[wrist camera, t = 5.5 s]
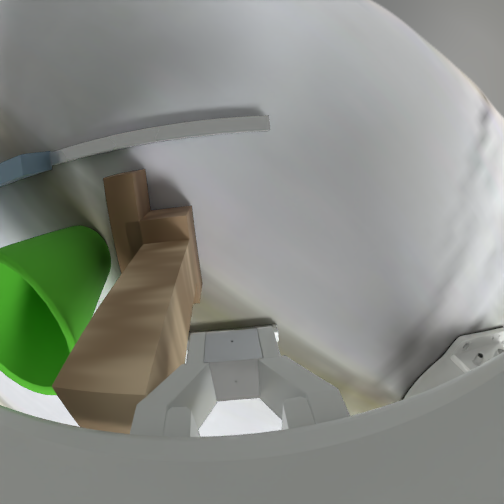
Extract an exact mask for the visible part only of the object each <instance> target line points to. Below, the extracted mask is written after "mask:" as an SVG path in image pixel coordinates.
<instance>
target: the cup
mask: <svg viewBox="0 0 504 504" xmlns="http://www.w3.org/2000/svg"><path fill="white" fill-rule="evenodd" d="M110 267H111V258H110V253H109V249H108V246H107V244H106V242H105V241H104V239H103V238H102V237H101V236H100V235H99V234H98V233H97V232H96V231H94V230H92V229H90V228H88V227H84V226H72V227H68V228H64V229H61V230H57V231H54V232H50V233H47V234H43V235H40V236H37V237H33V238H30V239H27V240H24V241H21V242H17V243H14V244H11V245H8V246H5V247H2V248H0V370H1V371H2V372H3V373H4V374H5V375H6V376H7V377H9V378H10V379H12V380H13V381H15V382H16V383H18V384H19V385H21V386H23V387H25V388H27V389H29V390H31V391H33V392H37V393H41V394H45V395H57V394H56V393H55V391H54V389H53V388H52V385H53V383H54V381H55V379H56V377H57V376H58V374H59V372H60V370H61V368H62V367H63V365H64V363H65V361H66V360H67V358H68V356H69V354H70V353H71V351H72V349H73V348H74V346H75V344H76V343H77V341H78V339H79V338H80V336H81V334H82V333H83V331H84V330H85V328H86V326H87V325H88V323H89V322H90V320H91V318H92V316H93V313H94V310H95V308H96V305H97V302H98V300H99V297H100V294H101V292H102V289H103V287H104V284H105V282H106V279H107V277H108V275H109V272H110Z"/></svg>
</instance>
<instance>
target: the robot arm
mask: <svg viewBox="0 0 504 504" xmlns="http://www.w3.org/2000/svg"><path fill="white" fill-rule="evenodd" d="M503 346H504V328H498V329H494V330H489V331H484V332H479V333H474V334H469V335H464V336H460V337H459V338H457V339H456V340H455V341H454V343H453V344H452V345H451V346H450V348H449V349H448V350H447V352H446V353H445V354H444V355H443V356H442V357H441V358H440V359H439V360H438V361H437V362H435V363H434V364H433V365H432V366H431V367H430V368H429V369H428V370H427V371H426V372H425V373H424V374H423V375H422V376H421V377H420V378H419V379H418V380H417V381H416V382H415V383H414V385H413V386H412V387H411V388H410V390H409V391H408V393H407V394H406V396H405V398H404V400H401V401H398V402H395V403H392V404H389V405H386V406H383V407H380V408H377V409H373V410H370V411H367V412H363V413H360V414H356V415H352V416H350V414H349V412H348V410H347V407H346V405H345V403H344V401H343V398H342V396H341V394H340V392H339V390H338V388H336V387H335V386H333V385H331V384H330V383H328V382H326V381H325V380H323V379H321V378H320V377H318V376H317V375H315V374H313V373H312V372H310V371H309V370H307V369H305V368H304V367H302V366H301V365H299V364H298V363H296V362H295V361H293V360H291V359H290V358H288V357H287V356H281V355H280V351H279V348H278V344H277V341H276V337H275V334H274V330H273V327H272V326H267V327H259V328H255V329H245V330H232V331H214V332H196V333H191V334H190V339H189V346H188V354H187V362H186V364H182V365H180V366H179V367H178V368H177V369H176V370H175V371H174V372H173V373H172V374H171V375H170V376H168V377H167V378H166V379H165V380H164V381H163V382H162V383H161V384H160V385H158V386H157V387H156V388H155V389H154V390H153V391H152V392H151V393H149V394H148V395H147V396H146V397H145V398H144V399H143V400H142V401H140V402H139V403H138V404H137V406H136V410H135V414H134V418H133V422H132V426H131V430H130V434H124V433H116V432H108V431H101V430H94V429H88V428H83V427H77V426H72V425H68V424H63V423H59V422H54V421H50V420H46V419H42V418H39V417H35V416H32V415H28V414H25V413H22V412H19V411H15V410H12V409H9V408H7V407H4V406H1V405H0V504H504V347H503ZM251 398H260V399H261V400H262V401H263V402H264V403H265V404H266V405H267V406H268V407H269V408H270V409H271V410H272V411H273V412H274V413H275V414H276V415H277V416H278V417H279V418H280V419H281V420H282V430H278V431H271V432H263V433H254V434H243V435H230V436H210V437H201V436H200V434H199V431H198V430H199V428H200V427H201V425H202V424H203V422H204V421H205V420H206V418H207V417H208V415H209V414H210V412H211V411H212V409H213V408H214V407H215V405H216V404H217V401H228V400H237V399H251Z"/></svg>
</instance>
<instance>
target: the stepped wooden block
mask: <svg viewBox="0 0 504 504" xmlns="http://www.w3.org/2000/svg"><path fill="white" fill-rule="evenodd" d="M103 182H104V189H105V196H106V202H107V208H108V214H109V219H110V224H111V230H112V235H113V239H114V244H115V249H116V253H117V257H118V262H119V266H120V270H121V276H120V277H119V278H118V280H117V281H116V283H115V284H114V285H113V287H112V288H111V290H110V291H109V293H108V294H107V296H106V297H105V299H104V300H103V302H102V303H101V305H100V306H99V308H98V309H97V311H96V312H95V314H94V315H93V317H92V318H91V320H90V322H89V323H88V325H87V326H86V328H85V330H84V331H83V333H82V334H81V336H80V338H79V339H78V341H77V343H76V344H75V346H74V348H73V349H72V351H71V353H70V354H69V356H68V358H67V360H66V361H65V363H64V365H63V367H62V368H61V370H60V372H59V374H58V376H57V377H56V379H55V381H54V383H53V385H52V388H53V389H54V391H55V393H56V394H57V396H58V397H59V399H60V400H61V401H62V403H63V404H64V406H65V407H66V409H67V410H68V411H69V413H70V414H71V416H72V417H73V418H74V420H75V421H76V422H77V423H78V425H79V426H80V427H83V428H88V429H94V430H101V431H108V432H116V433H124V434H130V430H131V426H132V422H133V418H134V414H135V410H136V406H137V404H138V403H139V402H140V401H142V400H143V399H144V398H145V397H146V396H147V395H148V394H149V393H151V392H152V391H153V390H154V389H155V388H156V387H157V386H158V385H160V384H161V383H162V382H163V381H164V380H165V379H166V378H167V377H168V376H170V375H171V374H172V373H173V372H174V371H175V370H176V369H177V368H178V367H179V366H180V365H182V364H185V357H186V350H187V342H188V335H189V328H190V321H191V315H192V308H193V304H196V303H200V298H201V290H202V278H201V271H200V265H199V258H198V251H197V243H196V236H195V228H194V220H193V212H192V206H183V207H175V208H167V209H159V210H151V209H150V202H149V195H148V188H147V180H146V171H145V169H142V170H136V171H130V172H124V173H119V174H116V175H112V176H109V177H105V178H103Z"/></svg>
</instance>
